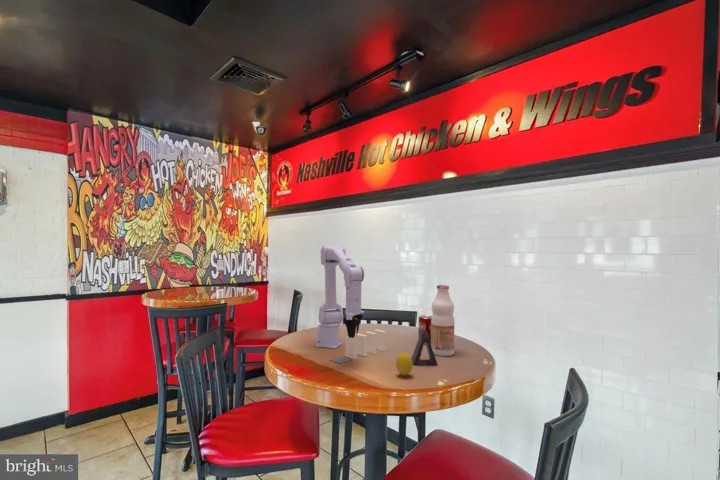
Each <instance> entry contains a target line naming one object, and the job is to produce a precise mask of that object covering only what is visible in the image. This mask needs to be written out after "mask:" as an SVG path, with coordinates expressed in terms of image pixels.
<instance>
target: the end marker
mask: <svg viewBox="0 0 720 480" xmlns="http://www.w3.org/2000/svg"><path fill="white" fill-rule="evenodd" d="M329 361H330V362H334V363H336V364H339V365H341V364H344V363H348V362H351V361H353V359H351V358H348V357H344V356H338V357H335V358H331V359H329Z"/></svg>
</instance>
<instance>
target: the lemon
mask: <svg viewBox="0 0 720 480" xmlns="http://www.w3.org/2000/svg"><path fill="white" fill-rule="evenodd" d="M411 356H412V355H411ZM411 356H410V354H409V353H407V352H405V351H404V352H403V351H402V353H400V354H398V356H397V358H396V361H395V362H396V365H395V366H396V370H397V371H398V372H399V374H401V375H402V376H403V377H405V376H407V375H409V374H410V373H411V372H412V370H413V366H414V365H413V363H412V357H411Z"/></svg>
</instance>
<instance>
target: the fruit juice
mask: <svg viewBox="0 0 720 480" xmlns="http://www.w3.org/2000/svg"><path fill="white" fill-rule="evenodd" d="M436 289H437V292H436V295H435V297H434V300H433V302H431V303H432V304H431V311H432V315H431V316H432V318H431V347H432V350H433V353H434V355H436V356H438V357H439V356H440V357H451V356H453V355H454V354H455V316H454V311H455V305H454V302H453V301H452V299H451V296H450V292H449V290H450V285H449V284H448V285H447V284H438V285H436Z"/></svg>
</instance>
